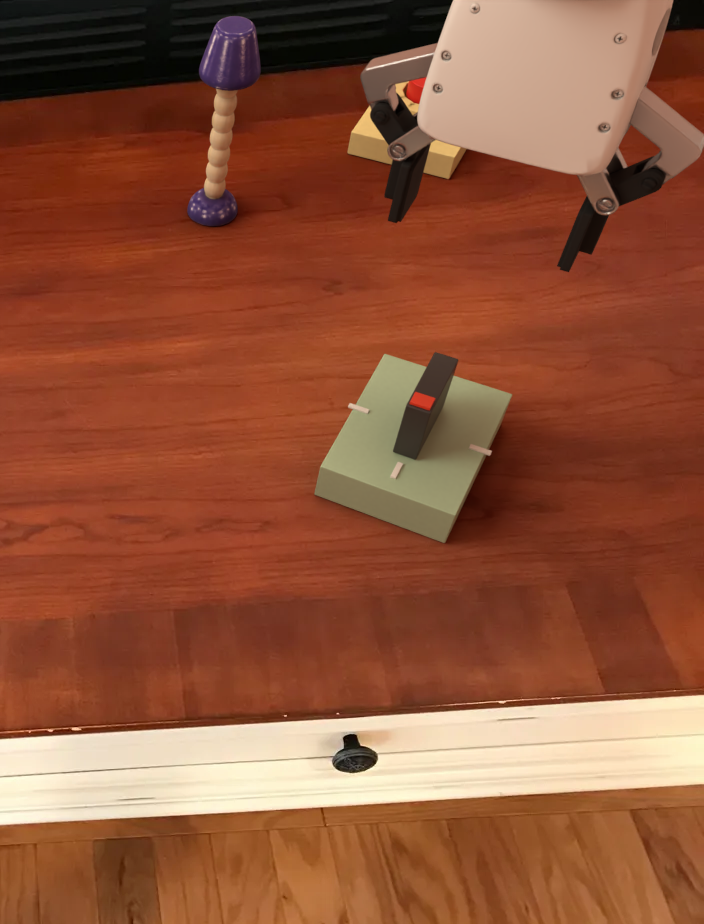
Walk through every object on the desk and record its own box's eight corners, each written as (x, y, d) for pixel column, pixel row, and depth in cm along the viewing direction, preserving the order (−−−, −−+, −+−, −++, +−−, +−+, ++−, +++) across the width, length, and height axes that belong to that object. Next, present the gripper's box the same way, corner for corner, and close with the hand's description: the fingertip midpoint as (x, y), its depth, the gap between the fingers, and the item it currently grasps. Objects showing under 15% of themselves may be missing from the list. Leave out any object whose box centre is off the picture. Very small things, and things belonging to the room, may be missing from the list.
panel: (372, 381, 84) (380, 349, 82) (506, 425, 81) (518, 393, 78) (309, 492, 79) (315, 462, 76) (450, 545, 75) (461, 516, 72)
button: (414, 80, 100) (418, 61, 99) (455, 89, 99) (460, 70, 98) (399, 101, 99) (404, 83, 97) (441, 111, 97) (446, 92, 96)
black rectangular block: (420, 398, 79) (435, 348, 75) (443, 406, 78) (460, 356, 74) (392, 452, 76) (406, 402, 72) (415, 460, 76) (431, 411, 72)
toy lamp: (225, 188, 100) (242, 1, 86) (255, 216, 97) (278, 28, 84) (177, 206, 99) (187, 21, 85) (207, 236, 96) (222, 49, 83)
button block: (391, 89, 106) (399, 48, 103) (489, 111, 103) (501, 70, 100) (347, 153, 101) (354, 113, 98) (448, 179, 97) (460, 138, 94)
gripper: (807, -74, 51) (658, 237, 65) (425, -136, 58) (362, 159, 71) (774, 6, 48) (623, 318, 61) (370, -70, 54) (315, 227, 68)
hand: (483, 232), depth 66 cm, fingers open, 9 cm apart
